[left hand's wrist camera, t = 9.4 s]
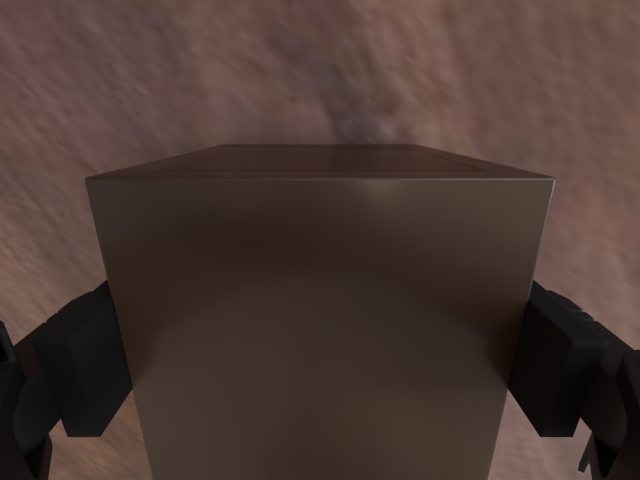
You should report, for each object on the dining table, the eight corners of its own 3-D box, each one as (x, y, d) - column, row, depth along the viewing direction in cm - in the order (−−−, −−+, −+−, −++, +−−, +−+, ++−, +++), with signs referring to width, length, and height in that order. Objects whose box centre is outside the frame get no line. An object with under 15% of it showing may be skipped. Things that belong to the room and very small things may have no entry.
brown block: (390, 440, 25) (443, 678, 14) (249, 440, 25) (197, 678, 14) (417, 144, 18) (557, 177, 7) (222, 144, 18) (82, 177, 7)
